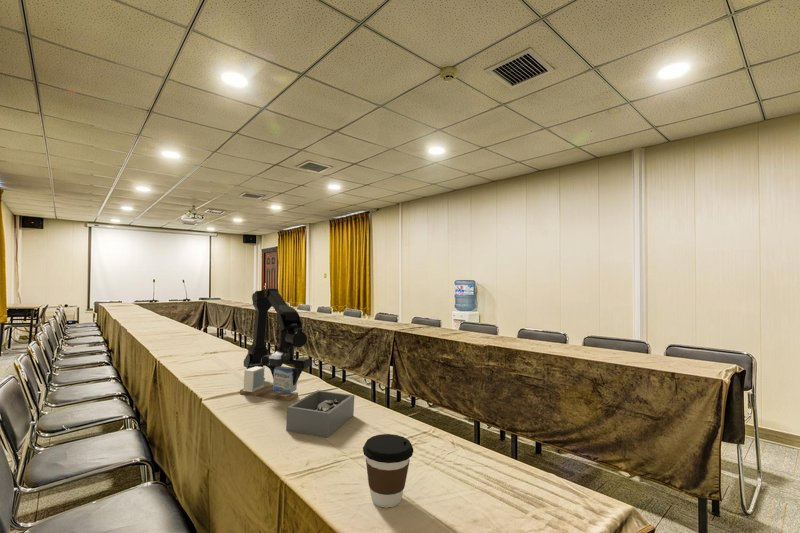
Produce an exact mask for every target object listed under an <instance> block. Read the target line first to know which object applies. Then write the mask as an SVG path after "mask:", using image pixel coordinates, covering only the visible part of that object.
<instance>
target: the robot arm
mask: <svg viewBox="0 0 800 533" xmlns="http://www.w3.org/2000/svg"><path fill="white" fill-rule="evenodd" d="M251 301H252V305H253V308H254V309H255V317H254V318H255V319H254V329H253V340H252V343H251V345H250V347H249V348H248V349H247V354H246V355H245V358H244V360H243V367H245V368H246V369H249V368H252V367H255V366H258V367H267V369H269V371H270V372H271V377H272V379H274V368H276V367H280V366H283V365H284V364H285V365H293V367H292V368H293V371H294V376H293V385H296V383H298V381H299V378H300V376H301V374H302V373H303V371H304V370H305V369H307V368H309V367H311V366H312V361H311V359H310V358H305V357H299V358H298V359H297V355H295V349H296V348H302V347H303V346H305V345H306V344H307V341H308V337H307V335H306V333H305V332H303V329H304V328H303V323H302V319H301V318H300V314H299V312H298V311H297V310H296V309H295V308H294V307H292V306H289V305H288V304H287V302H286V301H285V300H284V298H283V297H282V295H281V294H280V292H279V289H278V288H276V287H267V288H264V289H261V290H255V291H254V292H253V293H252V294H251ZM271 308H273V309H274V311H275V312H276V314H277V315H276V317H275V318H276V321H277V324H278V325H279V326H278V329H277V330H278V331H279V341H278V342H279V343H278V344H279V345H278V346H276V350H275V352H272V353H269V349H268V348H267V346H266V342H265V340H266V331H267V324H268V323H267V322H268V321H267V320H268V312H269V310H270V309H271ZM264 380H266V378H265V377H264Z"/></svg>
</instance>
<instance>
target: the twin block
mask: <svg viewBox="0 0 800 533" xmlns="http://www.w3.org/2000/svg"><path fill="white" fill-rule="evenodd" d="M265 368H266V366H263V367H258V366H255V367H252V368H249V369H247V368H246V369H244V372H243V373H244V375H243V388H244V390H243V391H248V392H254V391H256V390H258V389H261V388H265V386H264V384H265V379H264V378H265Z"/></svg>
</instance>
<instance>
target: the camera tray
mask: <svg viewBox="0 0 800 533" xmlns="http://www.w3.org/2000/svg"><path fill="white" fill-rule="evenodd" d="M335 399H336V400H338V399H341V400H342V402H341V403H339V404H338V405H336V406H335V407H334V408H332V409H331V410H329V411H328V412H324V411H318V410H313V409H315V408H317V407H318V405H319V404H320V403H322V402H323V401H325V400H331V401H334V400H335ZM354 412H355V394H349V393H342V392H335V391H334V392H333V391H327V390H321V389H320V390H319V389H317V390H316V391H314V392H312V393H310V394H309V395H306V396H304V397H302V398H301V399H299V400H297V401H296V402H294V403H292V404H291V405H289V406H287V407H286V424H285V430H286V431H287V432H293V433H294V432H295V433H299V434H305V435H311V436H316V437H320V438H321V437H322V438H329V437H331V435H333V434H334V433H335V432H336V431H338V430H339V428H341V427H342V426H343V425H345V424H346V423H347V422H348V421H349V420H350V419H352V418H353V417H354V416H353V415H355V414H354ZM352 416H353V417H352Z"/></svg>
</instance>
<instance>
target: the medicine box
mask: <svg viewBox="0 0 800 533" xmlns="http://www.w3.org/2000/svg"><path fill="white" fill-rule="evenodd" d="M293 368H294V367H292V366H283V365H282V366H280V367H276V368H274V379H273V378H272V379H273V382H272V389H273V391H280V392H287V393H291V392H296V391H297V387H298V384H297V383H298V382H297V383H296V385H293V376H294V371H293Z"/></svg>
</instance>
